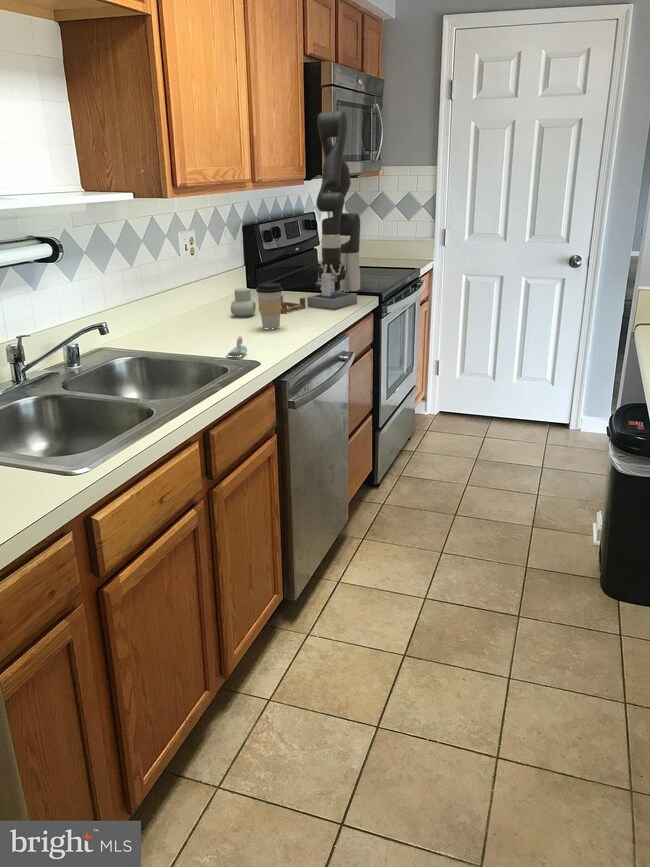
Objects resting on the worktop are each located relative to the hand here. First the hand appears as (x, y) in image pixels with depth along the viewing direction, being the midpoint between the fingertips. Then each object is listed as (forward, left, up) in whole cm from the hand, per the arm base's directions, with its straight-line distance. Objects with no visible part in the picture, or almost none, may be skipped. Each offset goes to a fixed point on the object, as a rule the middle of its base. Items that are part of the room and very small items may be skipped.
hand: (331, 290), depth 285 cm
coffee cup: (+44, +6, -6) cm, 45 cm away
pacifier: (+80, +21, -6) cm, 83 cm away
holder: (+16, -12, -6) cm, 21 cm away
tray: (0, 0, -6) cm, 6 cm away
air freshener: (+33, -17, -6) cm, 38 cm away
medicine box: (0, 0, -2) cm, 2 cm away
